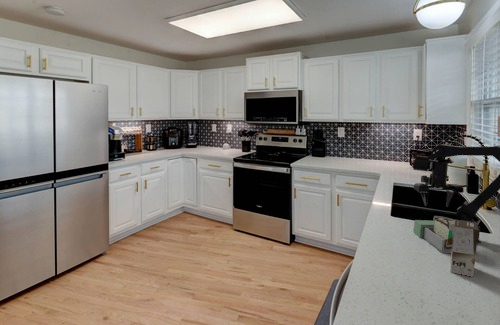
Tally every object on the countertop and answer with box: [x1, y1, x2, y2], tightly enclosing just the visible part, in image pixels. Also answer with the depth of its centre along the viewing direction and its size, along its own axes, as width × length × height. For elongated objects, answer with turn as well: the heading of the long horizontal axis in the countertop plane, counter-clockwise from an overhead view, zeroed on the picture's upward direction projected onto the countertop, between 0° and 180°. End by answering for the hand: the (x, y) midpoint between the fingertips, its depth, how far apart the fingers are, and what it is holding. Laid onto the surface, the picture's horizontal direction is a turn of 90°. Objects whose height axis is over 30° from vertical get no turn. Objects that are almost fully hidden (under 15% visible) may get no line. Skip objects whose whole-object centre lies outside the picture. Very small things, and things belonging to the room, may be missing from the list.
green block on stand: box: [413, 219, 452, 254], centre depth 122 cm, size 12×21×6 cm, turn 175°
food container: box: [432, 215, 456, 249], centre depth 119 cm, size 12×6×10 cm, turn 175°
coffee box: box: [449, 219, 479, 278], centre depth 99 cm, size 9×6×16 cm
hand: (436, 206), depth 133 cm, fingers open, 9 cm apart
